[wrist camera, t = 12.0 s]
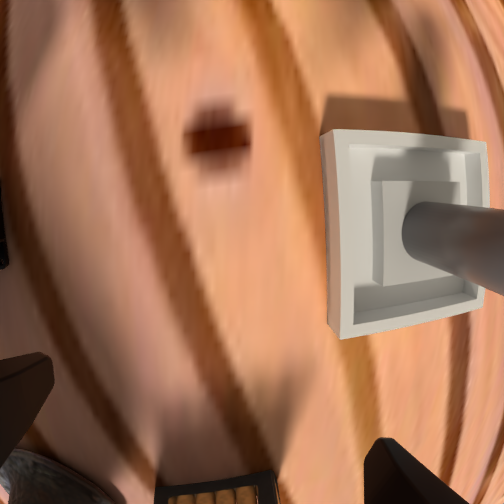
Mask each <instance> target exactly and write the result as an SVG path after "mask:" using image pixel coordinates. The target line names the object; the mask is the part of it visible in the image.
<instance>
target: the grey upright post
mask: <svg viewBox="0 0 504 504" xmlns="http://www.w3.org/2000/svg"><path fill="white" fill-rule="evenodd" d="M370 182H371V202H372V239H373V267H372V280H373V281H375V282H376V283H378V284H380V285H381V286H383V287H384V286H391V285H397V284H404V283H410V282H416V281H422V280H429V279H434V278H440V277H446V276H452V275H455V276H458V277H460V278H462V279H465V280H467V281H470V282H472V283H475V284H477V285H479V286H482V287H484V288H486V289H489V290H491V291H494V292H496V293H498V294H500V295H503V296H504V210H502V209H494V208H486V207H477V206H468V205H460V182H448V181H370Z"/></svg>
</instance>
